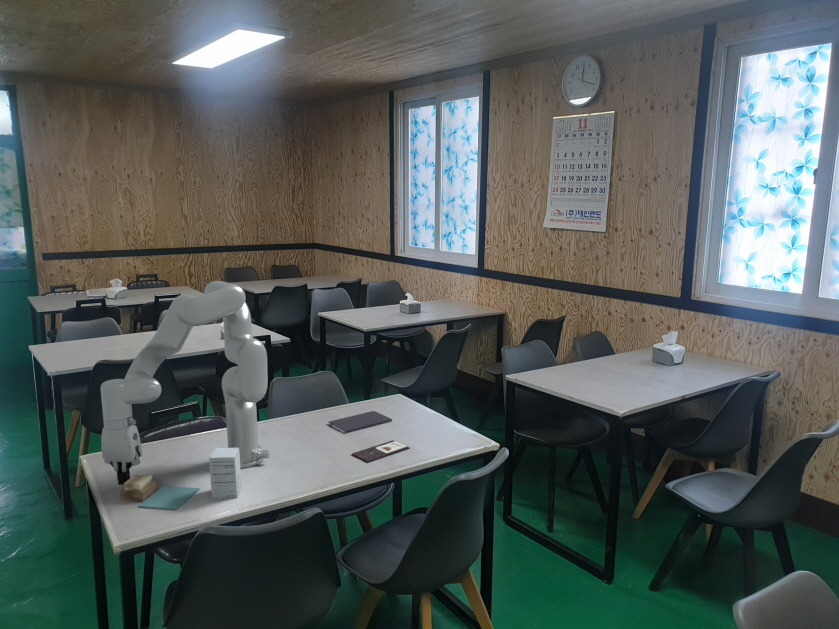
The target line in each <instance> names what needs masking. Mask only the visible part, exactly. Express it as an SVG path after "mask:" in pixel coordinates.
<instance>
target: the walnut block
mask: <svg viewBox="0 0 839 629" xmlns="http://www.w3.org/2000/svg"><path fill="white" fill-rule="evenodd" d="M157 490H158V484H157V481H156V480H152V483H150V484H149V485H148V486H146V487H145V488H144V489H143V490H141V491H133V490H124V487H123V488H121V489H120V490H119V492H120V494H119V495H120V500H121V501H126V502H127V501H128V502H140V503H142V502H143V501H145V500H146V499H147V498H148V497H150V496H151V495H152V494H153V493H155V492H156V491H157Z"/></svg>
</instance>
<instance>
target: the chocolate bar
mask: <svg viewBox="0 0 839 629" xmlns="http://www.w3.org/2000/svg"><path fill="white" fill-rule="evenodd" d="M407 450H410V447H409V446H407V445H405V444H403V443H400V442H397V441H396V440H389V441H387V442H384V443H381V444H377V445H374V446H370V447H367V448H365V449H364V448H363V449H362V450H359V451H356V452H353V453H351V456H353V457H355V458H356V459H358V460H360V461H363V462H364V463H367V464H370V463H372V462H375V461H378V460H381V459H384V458H387V457H389V456H390V457H391V456H392V455H395V454H398V453H401V452H405V451H407Z"/></svg>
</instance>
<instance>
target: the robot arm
mask: <svg viewBox="0 0 839 629" xmlns="http://www.w3.org/2000/svg"><path fill="white" fill-rule="evenodd" d="M251 316H252V314H251V312H250V309H249V306H248V304H247V303H246V293H245V291H244V290H243V288H242V287H241V286H239V285H237V284H234V283H230V282H226V281H223V280H221V281H220V280H213V281H211V282H208V284H206V286H205V288H204V294H202V295H198V296H195V295H191V294H180V295H178V296H176V297H174V299H173V301H172V302H171V304H170V305H169V308H168V309H167V311H166V313H165V314H164V316H163V319H162V320H161V323H160V325H159V326H158V328H157V330H156V332H155V333H154V334H153V335H154V336H152V338H151V339H150V340H149V341H148V342H147V343H146V344H145V346H143V348H142V349H140V351H139V352H138V354H137V355H136V356H135V357H134V360H133V361H132V362H131V365H130V366H129V368H128V370H127V372H126V375H125V377H124V379H123V378H115V379H114V378H113V379H109V380H106V381H104V382H102V383H101V385H100V396H101V397H100V398H101V406H102V418H103V420H102V421H103V428H102V431H101V439H100V440H101V442H100V443H101V444H100V445H101V455H102V456H101V457H102V459H103V462H104V463H105V464H106V465H111V467H112V468H113V470H114V472H116V478H117V484H118V485H120V486H124V483H125V482H126V481H128V480H129V479H131V474H130V469H131V468H132V467H134V466H138V465H140V464H141V459H140V458H141V457H142V456H143V449H142V442H141V437H140V433H139V430H138V427H137V425H136V424H137V419H134V416H133V408H132V406H133V405H134V404H138V405H139V404H149V403H152V402H155V401H156V400H157V399H158V398H159V397H160V396H161V394H162V386H161V384H160V382H159V381H158V380H157V379H155V378H154V375H155V374H156V371H157V370H158V368H159V367H160V366H161V365H162V363H163V362H164V361H165V360H166V359H168V358H169V357H172V356H173V355H175V354H177V353H179V352H180V351H181V350H182V349H183V346H184V345H185V342H186V341H187V339H188V337H189V335H190V334H191V331H192V329H193V328H194V327H200V326H204V325H207V324H210V323H212V322H216V321H217V320H220V319H222V321H223V333H224V334H223V338H224V339H223V340H224V356H225V357H226V359H227V360H228V361H229V362H232V363H234V364H235V366H232V367H230V368H228V369H227V370H226V371H225V372H224V374H223V376H222V379H221V389H222V392H223V393H222V394H223V398H224V403H225V417H226V418H225V419H226V434H227V436H226V437H227V448H239V453H240V469H242V468H243V469H246V468H250V467H254V466H256V465H259V464H260V463H262V462H263V461H264V459H270V456H271V454H270V450H269V449H262V445H261V444H259V436H258V419H257V418H258V417H257V413H258V412H257V403H258V402H260V401H261V400H262V399H263V398H264V397H265V395H266V393H267V390H268V382H269V381H268V379H269V378H268V377H269V376H268V352H267V349H266V347H265V345H264V344H263V343H262V341H260V340H259V339H257V338H255V337H253V326H252V317H251ZM236 365H237V366H236ZM132 404H133V405H132Z"/></svg>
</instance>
